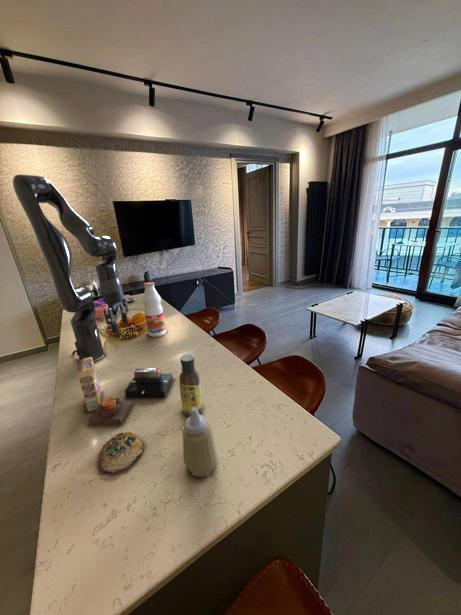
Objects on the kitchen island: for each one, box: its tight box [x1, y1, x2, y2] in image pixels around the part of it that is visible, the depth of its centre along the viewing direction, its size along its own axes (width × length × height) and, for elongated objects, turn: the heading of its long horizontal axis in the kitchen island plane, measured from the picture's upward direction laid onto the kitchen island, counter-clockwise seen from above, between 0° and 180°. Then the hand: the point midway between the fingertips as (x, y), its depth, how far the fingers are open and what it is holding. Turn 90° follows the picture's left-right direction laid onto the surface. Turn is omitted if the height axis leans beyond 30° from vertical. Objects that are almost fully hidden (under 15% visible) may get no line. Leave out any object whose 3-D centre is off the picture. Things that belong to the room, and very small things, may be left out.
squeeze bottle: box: [182, 407, 217, 478], centre depth 60 cm, size 8×8×18 cm
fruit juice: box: [142, 281, 167, 338], centre depth 132 cm, size 9×9×28 cm
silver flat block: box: [133, 367, 162, 383], centre depth 91 cm, size 9×2×5 cm, turn 87°
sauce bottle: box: [178, 353, 203, 417], centre depth 78 cm, size 6×6×20 cm
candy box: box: [76, 357, 102, 412], centre depth 85 cm, size 9×4×15 cm, turn 26°
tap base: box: [124, 373, 174, 399], centre depth 93 cm, size 14×13×3 cm
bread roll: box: [98, 431, 144, 474], centre depth 67 cm, size 11×11×5 cm
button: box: [101, 396, 117, 410], centre depth 80 cm, size 4×4×2 cm
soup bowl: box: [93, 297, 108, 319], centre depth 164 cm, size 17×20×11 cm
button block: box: [88, 397, 133, 426], centre depth 81 cm, size 10×8×4 cm
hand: (121, 327), depth 103 cm, fingers open, 8 cm apart
